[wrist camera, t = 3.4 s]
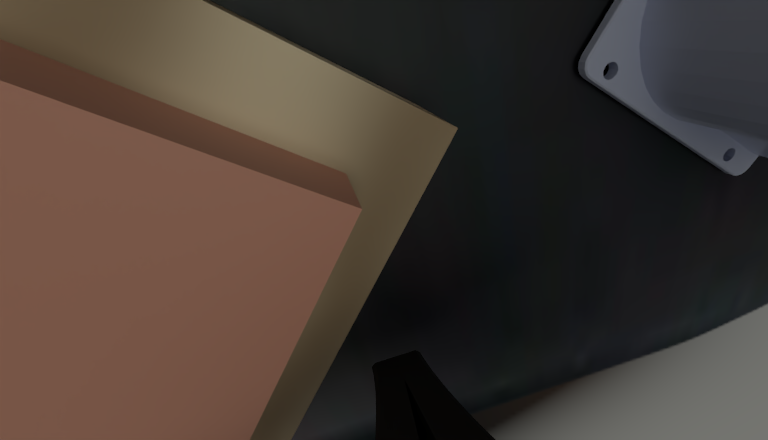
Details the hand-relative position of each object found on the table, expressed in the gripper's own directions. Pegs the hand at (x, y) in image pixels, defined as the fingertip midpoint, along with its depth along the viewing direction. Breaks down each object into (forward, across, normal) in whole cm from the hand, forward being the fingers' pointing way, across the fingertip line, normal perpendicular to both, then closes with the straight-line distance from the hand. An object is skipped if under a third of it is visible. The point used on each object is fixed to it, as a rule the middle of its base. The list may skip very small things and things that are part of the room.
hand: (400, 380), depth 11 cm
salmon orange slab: (+1, +6, -5) cm, 8 cm away
